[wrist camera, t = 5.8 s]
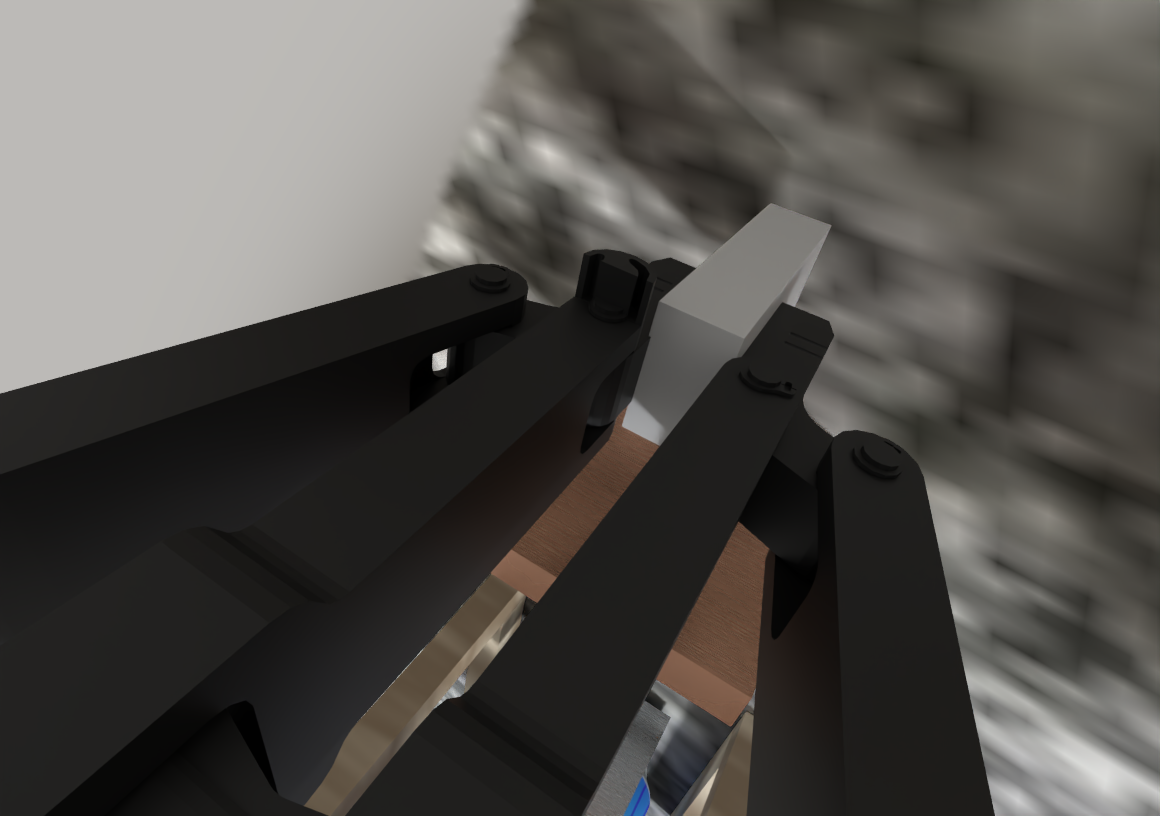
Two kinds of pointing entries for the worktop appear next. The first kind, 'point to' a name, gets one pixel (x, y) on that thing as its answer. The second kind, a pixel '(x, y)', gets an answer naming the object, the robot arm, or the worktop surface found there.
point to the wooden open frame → (473, 642)
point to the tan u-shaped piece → (710, 635)
